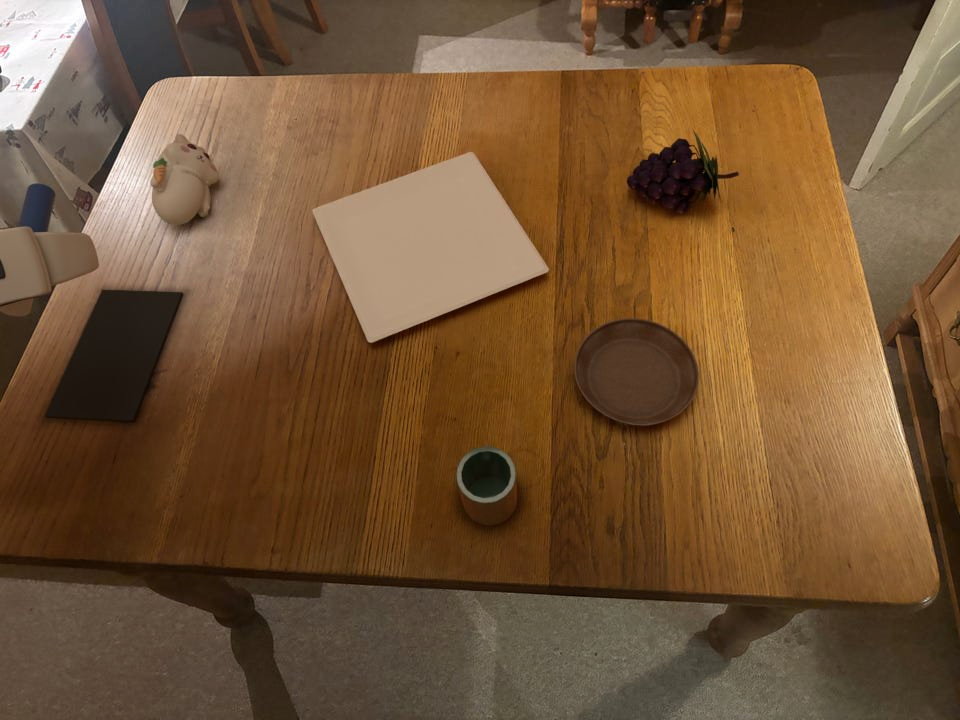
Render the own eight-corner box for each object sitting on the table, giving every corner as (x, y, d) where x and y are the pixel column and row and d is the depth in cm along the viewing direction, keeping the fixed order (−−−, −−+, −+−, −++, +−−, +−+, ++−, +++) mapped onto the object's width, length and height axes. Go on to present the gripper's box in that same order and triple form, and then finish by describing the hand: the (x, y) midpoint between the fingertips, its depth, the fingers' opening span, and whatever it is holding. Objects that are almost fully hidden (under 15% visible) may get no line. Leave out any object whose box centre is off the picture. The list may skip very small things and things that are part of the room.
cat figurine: (155, 193, 91) (174, 110, 97) (123, 213, 95) (144, 132, 101) (215, 226, 98) (230, 147, 104) (183, 244, 102) (200, 167, 108)
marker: (20, 185, 77) (-12, 303, 68) (44, 180, 77) (16, 297, 68) (38, 203, 79) (10, 319, 71) (62, 198, 79) (37, 312, 71)
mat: (134, 422, 83) (132, 420, 83) (46, 417, 84) (43, 416, 84) (183, 294, 93) (182, 291, 93) (104, 291, 94) (102, 289, 94)
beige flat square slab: (371, 351, 86) (368, 342, 85) (314, 217, 99) (310, 208, 97) (549, 279, 91) (550, 269, 89) (473, 159, 103) (472, 149, 101)
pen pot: (493, 537, 73) (489, 515, 66) (451, 502, 75) (444, 478, 68) (528, 495, 75) (528, 469, 68) (486, 463, 78) (482, 435, 71)
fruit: (631, 193, 102) (735, 176, 97) (632, 237, 95) (743, 221, 90) (622, 134, 94) (734, 113, 90) (622, 177, 88) (742, 157, 83)
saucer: (718, 376, 81) (724, 365, 79) (644, 458, 77) (647, 449, 74) (623, 310, 87) (626, 298, 85) (548, 382, 82) (549, 371, 80)
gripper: (-162, 329, 60) (-55, 305, 74) (61, 292, 61) (128, 274, 74) (-191, 261, 59) (-76, 249, 72) (39, 223, 59) (111, 218, 73)
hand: (29, 261), depth 73 cm, fingers closed on marker, 3 cm apart
